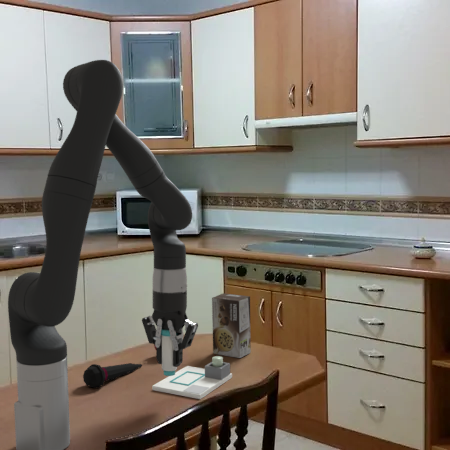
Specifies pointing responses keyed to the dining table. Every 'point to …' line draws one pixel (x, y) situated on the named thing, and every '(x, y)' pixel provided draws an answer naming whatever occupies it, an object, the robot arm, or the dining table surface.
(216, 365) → the button
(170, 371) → the marker
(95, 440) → the dining table surface
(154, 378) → the dining table surface
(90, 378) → the microphone
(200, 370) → the white flat rectangular panel
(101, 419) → the dining table surface
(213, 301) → the coffee box
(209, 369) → the button housing
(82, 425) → the dining table surface
